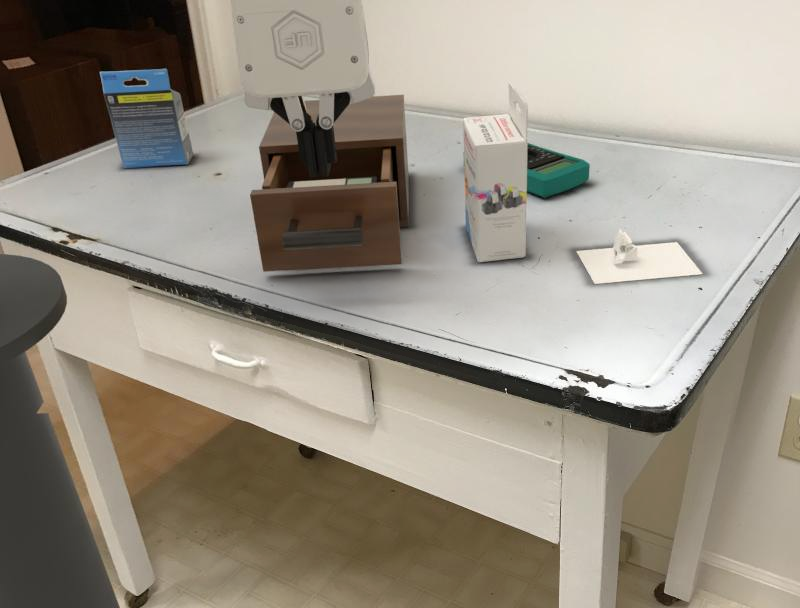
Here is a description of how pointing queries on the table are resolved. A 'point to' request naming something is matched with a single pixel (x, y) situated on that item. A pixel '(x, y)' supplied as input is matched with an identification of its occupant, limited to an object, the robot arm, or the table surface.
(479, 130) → the ink box
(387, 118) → the cabinet
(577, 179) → the digital multimeter
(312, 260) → the drawer
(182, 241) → the table surface
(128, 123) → the label tape box
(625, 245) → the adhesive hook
